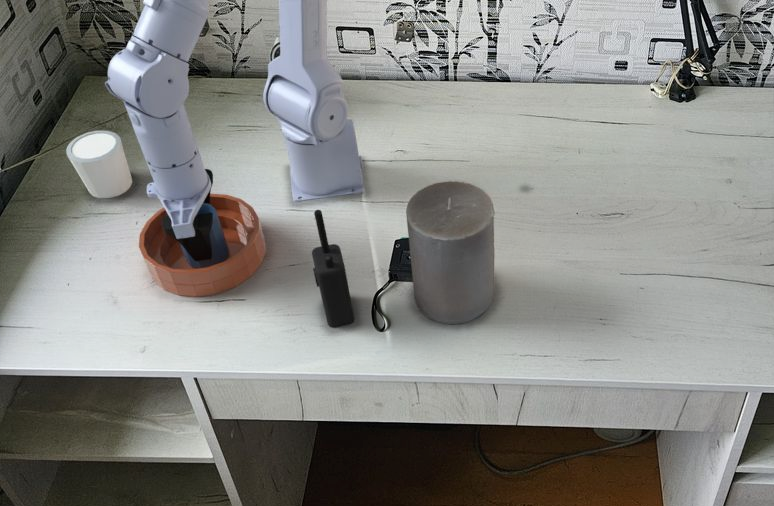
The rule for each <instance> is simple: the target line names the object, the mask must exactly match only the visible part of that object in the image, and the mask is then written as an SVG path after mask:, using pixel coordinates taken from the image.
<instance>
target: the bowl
mask: <svg viewBox="0 0 774 506" xmlns="http://www.w3.org/2000/svg"><path fill="white" fill-rule="evenodd" d="M210 204H211V205H212V206H213V207H214V208H215V209H216V212H217V215H218V218H219V221H220V224H221V227H222V230H223V233H224V236H225V239H226V242H227V245H228V248H229V256H228V258H227V259H226V260H225V261H224V262H221V263H218V264H216V265H213V266H210V267H206V268H200V269H195V268H192V267H191V266H190V265H189V264H188V263H187V261H186V258H185V256H184V253H183V250H182V248H181V245H180V243H179V242H178V241H177V240H175V239H174V238H172V237H171V236H169V235H167V234H165V232H164V230H163V228H162V216H168V213H167V212H166V210H165V208H164V207H162V208H160V209H158V210H157V211H156V212H155V213H154V214H153V215H152V216H151V217H150V218H149V219H148V220H147V221H146V222H145V223H144V226H143V228H142V229H141V231H140V233H139V237H138V238H139V239H138V248H139V251H140V253H141V255H142V258H143V260H144V262H145V265H146V267H147V270H148V271H149V274H150V276H151V278H152V280H153V282H154V283H155V284H157V286H159V287H160V288H161V289H162V290H163V291H166V292H169V293H172V294H175V295H177V296H180V297H181V296H183V297H194V298H195V297H198V298H200V297H205V296H206V297H207V296H214V295H218V294H221V293H223V292H226V291H229V290H231V289H234V288H236V287H238V286H239V285H241V284H243V283H244V282H245V281H247V280H248V279H250V278H251V277H252V276H253V274H255V273H256V272H257V270H258V269H259V268H260V267H262V266H261V265H262V262H263V260H264V258H265V256H266V254H267V253H266V252H267V247H266V239H265V235H264V232H263V229H262V225H261V220H260V218H259V215H258V214H257V212H256V210H255V209H254V207H253V206H252V205H250V204H249V203H247V202H246V201H245V200H243V199H241V198H240V197H236V196H233V195H229V194H224V193H223V194H222V193H210Z"/></svg>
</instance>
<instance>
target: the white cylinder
mask: <svg viewBox="0 0 774 506" xmlns="http://www.w3.org/2000/svg"><path fill="white" fill-rule="evenodd" d="M65 152H66V157H67V158H68V160H69V161H70V163H71V165H72V166H73V168H74V169H75V171H76V173H77V174H78V176H79V177H80V180H81V181H82V182H83V184H84V186H85V188H86V189H87V191H88V193H89V194H90V195H91V196H92V197H95V198H98V199H111V198H116V197H118V196H120V195H123V194H124V193H126V192H127V191H128V190H129V189H130V188H131V187H132V184H133V178H132V175H131V171H130V167H129V163H128V161H127V157H126V154H125V149H124V147H123V143H122V139H121V136H119V135H118V134H117V133H116V132H114V131H110V130H92V131H88V132H85V133H83V134H81V135H78V136H76V137H75V138H73V139H72V140H71V141H70V142H69V143H68V145H67V147H66V149H65Z"/></svg>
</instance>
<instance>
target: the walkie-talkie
mask: <svg viewBox="0 0 774 506" xmlns="http://www.w3.org/2000/svg"><path fill="white" fill-rule="evenodd" d="M313 214H314V219H315V224H316V229H317V232H318V233H317V234H318V237H319V241H320V246H316V247H314V248H313V249H312V251H311V257H312V261H313V265H314V267H313V268H312V270H313V275H314V279H315V284H316V287H317V288H318V289H319V292H320V297H321V302H322V306H323V309H324V314H325V318H326V323H327V326H328V327H330V328H331V329H334V328H340V327H344V326H348V325H352V324H353V323H355V319H356V317H355V313H354V309H353V303H352V302H353V301H352V297H351V293H350V287H349V282H348V278H347V272H346V266H345V263H344V258H343V255H342V250H341V247H340V246H339V245H338V244H336V243H331V244H329V239H328V235H327V229H326V226H325V220H324V216H323V212H322V210H321V209H316V210H314V212H313Z"/></svg>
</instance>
